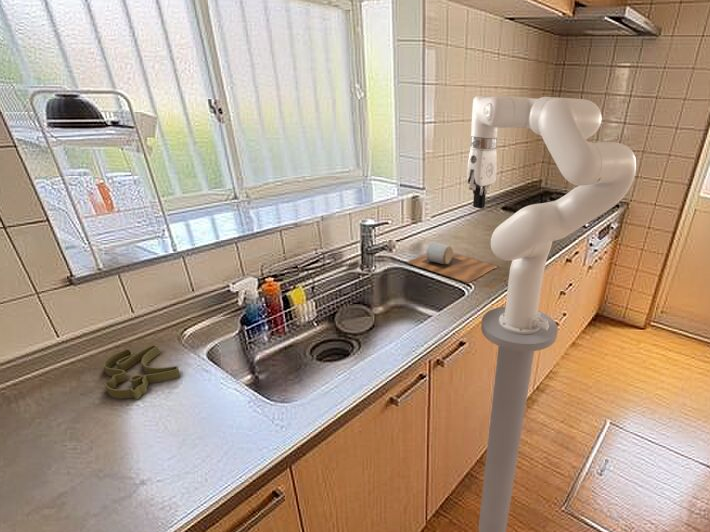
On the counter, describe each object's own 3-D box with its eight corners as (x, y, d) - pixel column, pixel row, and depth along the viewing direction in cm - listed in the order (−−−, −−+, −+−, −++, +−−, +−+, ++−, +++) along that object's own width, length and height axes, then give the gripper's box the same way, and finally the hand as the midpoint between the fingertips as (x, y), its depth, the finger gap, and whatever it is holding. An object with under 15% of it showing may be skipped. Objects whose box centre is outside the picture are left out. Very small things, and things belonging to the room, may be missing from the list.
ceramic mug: (444, 267, 154) (445, 247, 150) (425, 263, 157) (425, 243, 153) (457, 259, 163) (458, 240, 159) (438, 255, 165) (439, 236, 162)
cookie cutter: (185, 379, 90) (183, 372, 89) (118, 407, 81) (114, 398, 80) (155, 347, 100) (153, 340, 99) (91, 369, 91) (88, 361, 90)
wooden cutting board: (497, 266, 159) (497, 266, 159) (468, 283, 144) (468, 282, 143) (438, 249, 172) (438, 249, 172) (406, 262, 157) (406, 262, 157)
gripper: (480, 147, 113) (476, 214, 121) (507, 143, 124) (501, 205, 132) (457, 144, 116) (454, 209, 125) (485, 141, 127) (481, 201, 136)
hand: (478, 207), depth 128 cm, fingers closed
